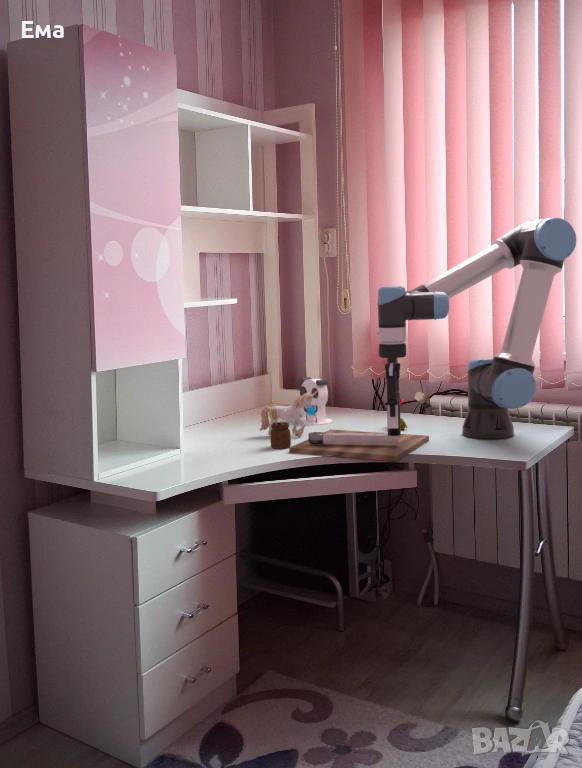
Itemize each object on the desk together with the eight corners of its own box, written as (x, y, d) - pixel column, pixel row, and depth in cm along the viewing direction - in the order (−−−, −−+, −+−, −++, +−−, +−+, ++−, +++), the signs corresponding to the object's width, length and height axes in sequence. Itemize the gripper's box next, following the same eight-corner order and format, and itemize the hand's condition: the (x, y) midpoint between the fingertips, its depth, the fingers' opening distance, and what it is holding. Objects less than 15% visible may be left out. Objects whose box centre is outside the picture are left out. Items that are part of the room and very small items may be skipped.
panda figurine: (291, 421, 275) (290, 378, 273) (318, 417, 281) (317, 375, 279) (311, 426, 265) (310, 381, 263) (339, 422, 271) (337, 378, 269)
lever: (306, 443, 226) (305, 393, 224) (310, 440, 231) (309, 390, 229) (399, 445, 220) (398, 393, 218) (401, 441, 225) (400, 390, 223)
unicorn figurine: (324, 435, 248) (323, 393, 247) (262, 440, 245) (261, 397, 243) (319, 431, 255) (317, 390, 254) (259, 436, 252) (257, 394, 250)
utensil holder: (294, 445, 235) (293, 405, 233) (283, 450, 230) (281, 409, 228) (278, 444, 238) (276, 404, 237) (266, 448, 233) (264, 407, 231)
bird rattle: (383, 434, 258) (390, 427, 250) (379, 401, 261) (386, 393, 253) (402, 433, 259) (410, 426, 251) (398, 400, 262) (405, 392, 254)
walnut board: (428, 440, 236) (428, 435, 235) (396, 461, 211) (396, 455, 211) (330, 434, 250) (330, 428, 250) (289, 452, 226) (289, 446, 226)
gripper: (381, 340, 228) (383, 421, 231) (375, 345, 212) (377, 432, 215) (408, 340, 226) (409, 421, 229) (403, 345, 210) (405, 432, 213)
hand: (393, 426), depth 222 cm, fingers closed on lever, 4 cm apart
